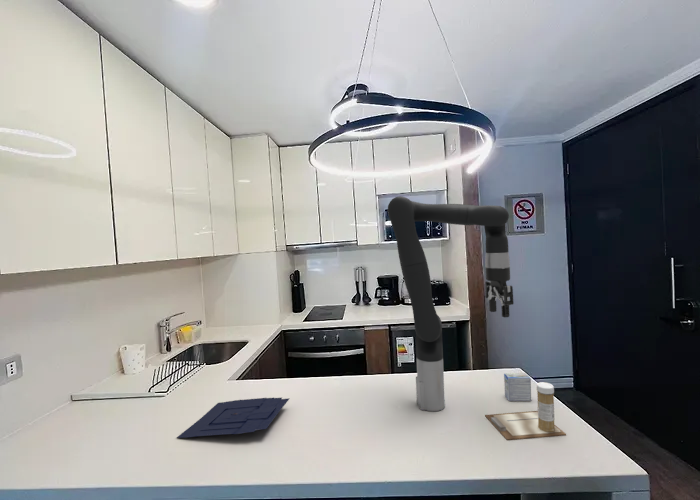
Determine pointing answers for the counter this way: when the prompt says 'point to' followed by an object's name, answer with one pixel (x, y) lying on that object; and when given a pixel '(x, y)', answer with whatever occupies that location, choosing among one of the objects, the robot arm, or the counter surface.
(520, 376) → the medicine box
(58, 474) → the counter surface
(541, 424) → the sprinkles bottle
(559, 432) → the clipboard
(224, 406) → the navy blue folded cloth
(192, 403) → the counter surface
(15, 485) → the counter surface
